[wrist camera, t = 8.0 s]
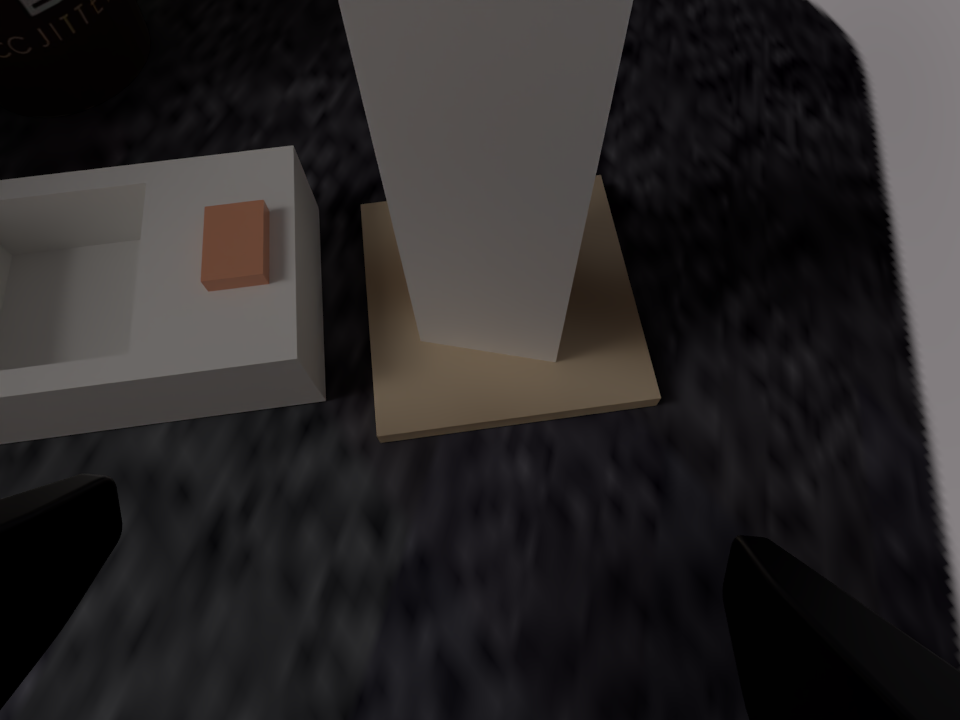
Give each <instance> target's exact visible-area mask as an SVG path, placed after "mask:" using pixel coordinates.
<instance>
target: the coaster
mask: <svg viewBox="0 0 960 720" xmlns="http://www.w3.org/2000/svg"><path fill="white" fill-rule="evenodd" d="M361 217H362V231H363V246H364V260H365V274H366V288H367V302H368V316H369V331H370V345H371V359H372V373H373V387H374V402H375V416H376V430H377V438H378V439H379V441H380V443H384V442H391V441H398V440H406V439H413V438H420V437H428V436H435V435H443V434H450V433H457V432H465V431H472V430H479V429H487V428H494V427H501V426H509V425H516V424H524V423H531V422H538V421H546V420H553V419H560V418H568V417H575V416H582V415H590V414H597V413H605V412H612V411H619V410H627V409H634V408H641V407H649V406H656V405H657V404H658V402H659V401H660V399H661V396H660V392H659V388H658V385H657V381H656V377H655V374H654V370H653V366H652V362H651V359H650V355H649V351H648V348H647V344H646V340H645V337H644V333H643V329H642V326H641V322H640V318H639V314H638V311H637V307H636V303H635V300H634V296H633V292H632V289H631V285H630V281H629V278H628V274H627V270H626V266H625V263H624V259H623V255H622V252H621V248H620V244H619V241H618V237H617V233H616V230H615V226H614V222H613V218H612V215H611V211H610V207H609V204H608V200H607V196H606V193H605V189H604V185H603V182H602V178H601V175H597V176H595V181H594V185H593V190H592V195H591V199H590V204H589V209H588V214H587V218H586V223H585V228H584V232H583V237H582V242H581V246H580V251H579V256H578V260H577V265H576V270H575V274H574V279H573V284H572V288H571V293H570V298H569V302H568V307H567V312H566V316H565V321H564V326H563V331H562V335H561V340H560V345H559V349H558V354H557V359H556V362H550V361H543V360H537V359H531V358H525V357H518V356H512V355H506V354H499V353H493V352H487V351H480V350H474V349H468V348H461V347H455V346H449V345H442V344H436V343H430V342H424V341H421V340H420V336H419V332H418V328H417V324H416V320H415V315H414V311H413V307H412V303H411V299H410V295H409V291H408V287H407V282H406V278H405V274H404V270H403V266H402V262H401V258H400V254H399V249H398V245H397V241H396V237H395V233H394V229H393V225H392V221H391V216H390V212H389V208H388V204H387V201H384V202H376V203H368V204H361Z"/></svg>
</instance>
